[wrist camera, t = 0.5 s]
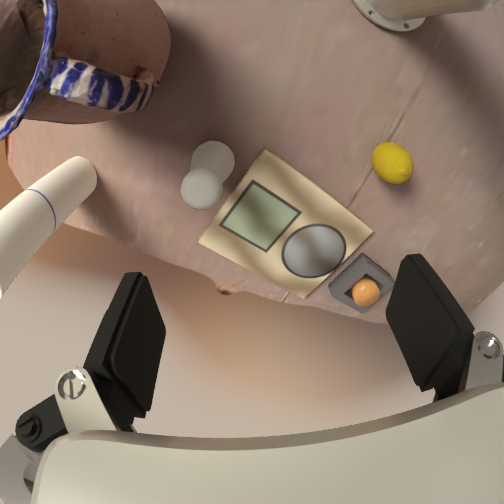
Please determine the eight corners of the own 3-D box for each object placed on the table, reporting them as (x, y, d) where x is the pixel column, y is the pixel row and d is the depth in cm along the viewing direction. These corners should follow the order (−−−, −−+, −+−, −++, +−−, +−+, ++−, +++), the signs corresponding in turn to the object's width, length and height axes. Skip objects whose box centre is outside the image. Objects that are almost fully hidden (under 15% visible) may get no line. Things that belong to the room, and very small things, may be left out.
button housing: (362, 252, 47) (367, 262, 45) (389, 273, 50) (395, 284, 48) (328, 284, 52) (331, 296, 49) (357, 302, 55) (361, 313, 52)
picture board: (265, 147, 37) (265, 150, 36) (370, 227, 44) (373, 231, 43) (199, 238, 46) (198, 242, 45) (302, 294, 53) (303, 299, 52)
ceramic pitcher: (93, -3, 21) (-34, -25, 1) (229, 17, 26) (194, -69, 6) (61, 102, 31) (-67, 159, 10) (182, 131, 35) (96, 220, 15)
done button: (364, 272, 47) (369, 282, 45) (380, 284, 49) (385, 293, 47) (345, 290, 50) (348, 300, 47) (361, 300, 51) (365, 309, 49)
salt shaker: (237, 138, 36) (231, 168, 26) (234, 177, 40) (228, 221, 29) (194, 136, 36) (170, 165, 25) (193, 174, 39) (172, 217, 29)
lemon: (400, 143, 36) (428, 159, 29) (389, 175, 39) (413, 197, 32) (370, 131, 35) (395, 146, 29) (359, 165, 38) (380, 186, 32)
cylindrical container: (101, 193, 40) (11, 303, 20) (69, 198, 40) (-20, 298, 20) (91, 152, 36) (-21, 244, 16) (58, 160, 36) (-48, 247, 16)
